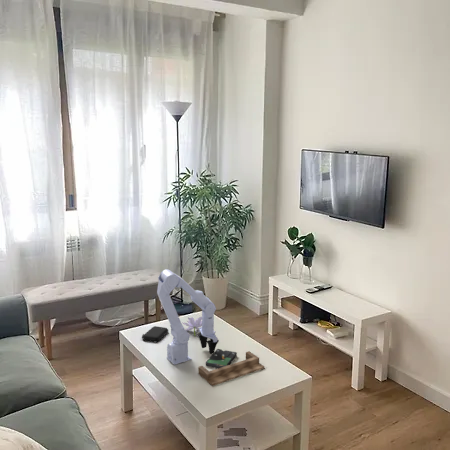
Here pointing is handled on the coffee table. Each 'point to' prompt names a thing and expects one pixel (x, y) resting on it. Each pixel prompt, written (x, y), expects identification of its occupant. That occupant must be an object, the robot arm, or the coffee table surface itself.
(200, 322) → the water lily
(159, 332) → the carrying case or bag
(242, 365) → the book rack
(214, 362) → the disk drive
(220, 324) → the coffee table surface
